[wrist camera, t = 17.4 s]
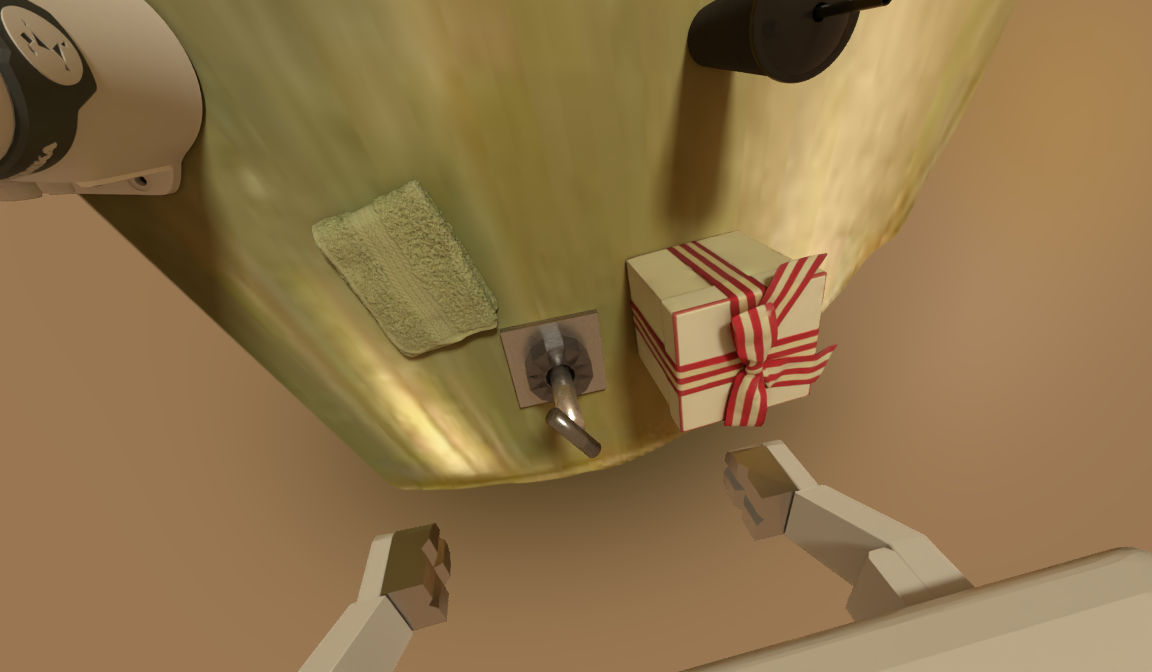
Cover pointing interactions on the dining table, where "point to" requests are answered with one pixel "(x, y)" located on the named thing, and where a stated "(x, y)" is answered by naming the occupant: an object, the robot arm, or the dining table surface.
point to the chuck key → (569, 412)
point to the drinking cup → (774, 35)
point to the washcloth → (409, 270)
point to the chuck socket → (555, 355)
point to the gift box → (727, 327)
